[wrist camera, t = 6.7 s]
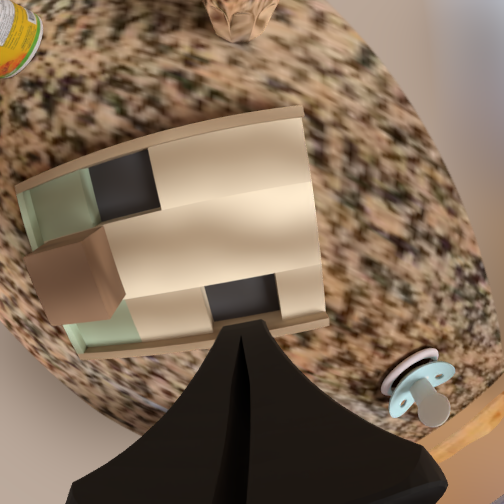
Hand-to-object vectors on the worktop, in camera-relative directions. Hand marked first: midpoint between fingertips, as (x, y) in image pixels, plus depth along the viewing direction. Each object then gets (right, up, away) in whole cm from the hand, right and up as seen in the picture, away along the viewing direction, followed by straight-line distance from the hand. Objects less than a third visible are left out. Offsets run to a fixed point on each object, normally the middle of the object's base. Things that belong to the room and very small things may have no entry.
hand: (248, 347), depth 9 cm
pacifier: (+15, -8, +15) cm, 23 cm away
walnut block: (-10, +2, +7) cm, 13 cm away
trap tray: (-5, +4, +9) cm, 11 cm away
